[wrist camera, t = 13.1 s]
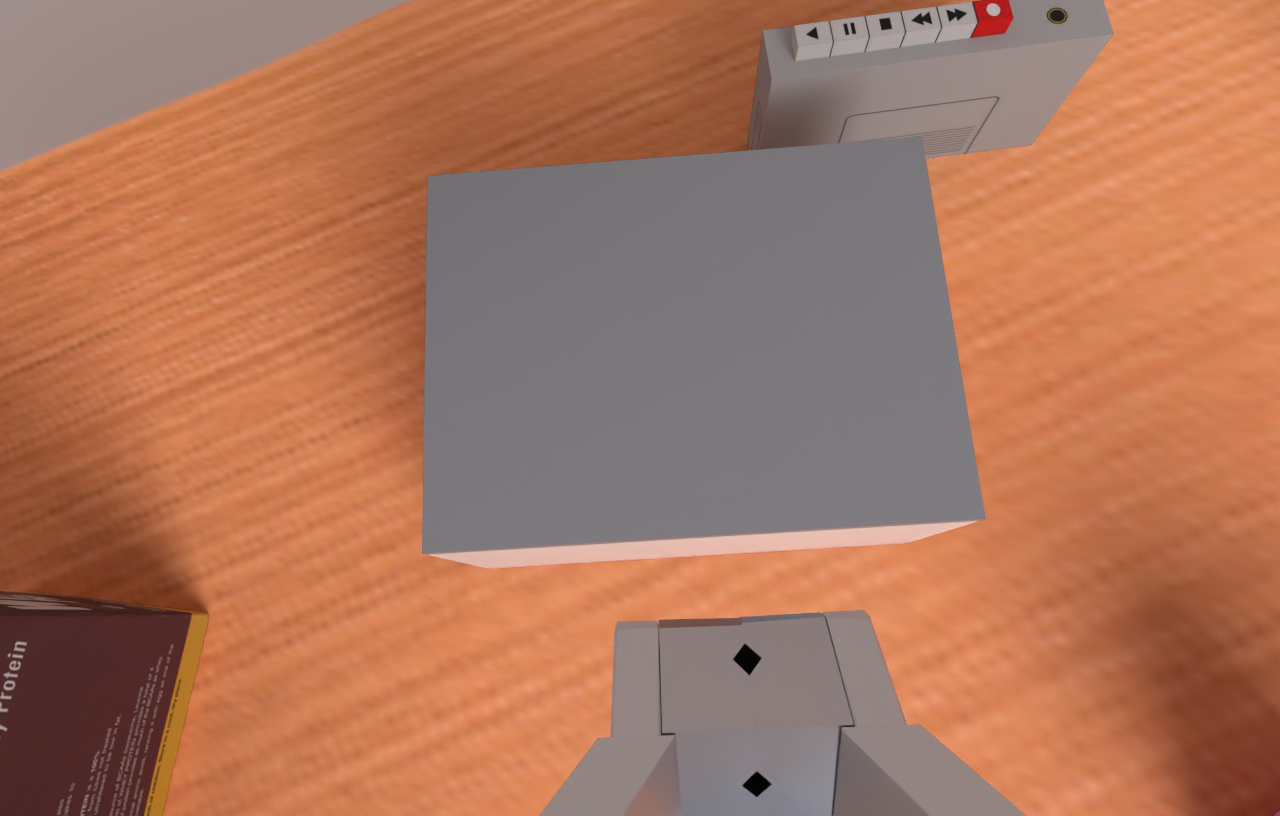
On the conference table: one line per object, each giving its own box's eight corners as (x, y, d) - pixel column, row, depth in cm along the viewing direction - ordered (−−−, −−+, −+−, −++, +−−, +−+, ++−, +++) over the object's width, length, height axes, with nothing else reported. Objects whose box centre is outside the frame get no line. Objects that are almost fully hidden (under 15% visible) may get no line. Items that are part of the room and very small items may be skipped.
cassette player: (1019, 104, 46) (1109, -32, 36) (1030, 146, 45) (1125, 18, 35) (747, 140, 46) (764, 14, 36) (754, 182, 45) (774, 64, 36)
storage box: (905, 543, 40) (977, 521, 30) (489, 568, 41) (428, 554, 31) (865, 249, 44) (917, 146, 34) (486, 277, 45) (432, 184, 35)
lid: (979, 520, 30) (985, 518, 29) (427, 554, 31) (422, 553, 30) (917, 145, 34) (921, 136, 33) (431, 182, 35) (427, 175, 34)
